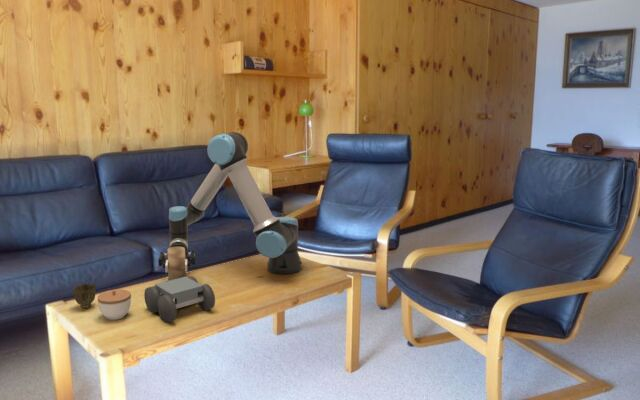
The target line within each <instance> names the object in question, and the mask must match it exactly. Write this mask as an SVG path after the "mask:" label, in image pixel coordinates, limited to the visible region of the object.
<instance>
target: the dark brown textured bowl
mask: <svg viewBox="0 0 640 400" xmlns="http://www.w3.org/2000/svg"><path fill="white" fill-rule="evenodd" d="M96 286H97V285H96V284H94V283H92V285H90V283H89V282H88V283H87V282H84V283H83V284H82V283H80V285H79V284H76V285H74V287H72V291H73V296H74V300H75V302H76V303H77V304H78V305H79V307H80V308H81V309H83V310H87V309H90V308H91V307H92V303H93V302H94V301H95V299H96Z"/></svg>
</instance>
